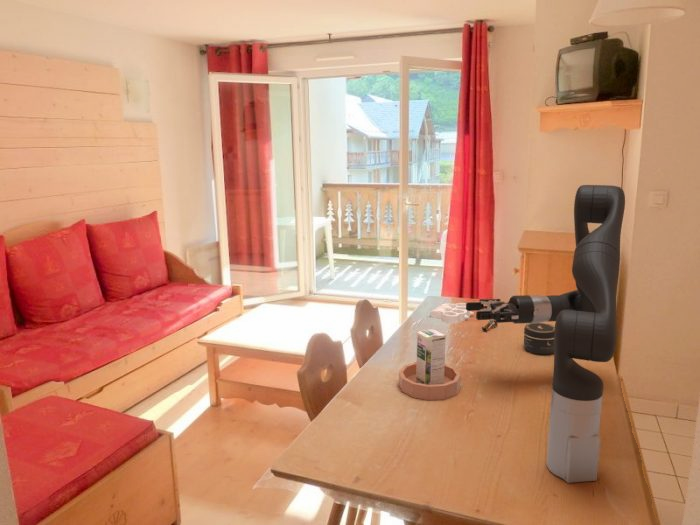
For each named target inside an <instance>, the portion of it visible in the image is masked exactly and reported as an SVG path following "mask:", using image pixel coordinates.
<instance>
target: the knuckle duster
mask: <svg viewBox="0 0 700 525" xmlns="http://www.w3.org/2000/svg"><path fill="white" fill-rule="evenodd" d="M466 303H467V302H466ZM466 303H465V302H457V303H448V302H446V303H442V304H440V305H439V306H437V307H435V308H434V309H433V310H430V311H429V312H428V313H429V317H431V318H433V319H440V320H442V322H443V323H445V322H446V323H445V324H450V323H451V325H454V324H453V323H455V324H458V323H459V322H463V321H466V320H468V319H469V318H471V316H472V315H476V314H475V313H476V312H475V313H474V312H473V311H467V310H466Z"/></svg>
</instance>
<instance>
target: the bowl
mask: <svg viewBox="0 0 700 525" xmlns="http://www.w3.org/2000/svg"><path fill="white" fill-rule="evenodd" d="M416 362H417V361H416ZM416 362H415V361H414V362H412V363H409V364H406V365H405V364H404V365H403V366H402V368H401V369H400V370H399V372H398V385H399V387H400V390H401V392H402V393H404V394H405V395H408V396H410V397H412V398H413V399H420V400H425V401H440V400H442V401H443V400H446V399H447V400H448V399H449V398H451V397H455V396H456V395H458V393H459V392H460V389H461V373H460V372H459V370H458V369H457V368H455V367H454V366H451V365H448V364H447V363H445V366H444V384H437V385H426V384H421V383H418V382H416Z"/></svg>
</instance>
